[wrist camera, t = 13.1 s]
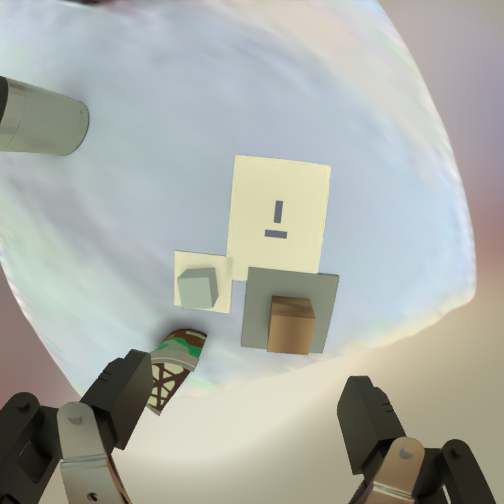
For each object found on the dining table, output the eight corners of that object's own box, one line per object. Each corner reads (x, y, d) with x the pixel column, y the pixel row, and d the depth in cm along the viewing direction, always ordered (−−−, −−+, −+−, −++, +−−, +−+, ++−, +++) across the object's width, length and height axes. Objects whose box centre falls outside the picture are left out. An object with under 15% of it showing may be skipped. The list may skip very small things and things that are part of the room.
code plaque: (225, 277, 37) (224, 278, 36) (235, 155, 33) (235, 154, 33) (314, 287, 36) (314, 288, 36) (330, 166, 32) (331, 165, 32)
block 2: (267, 328, 37) (267, 351, 31) (272, 295, 36) (272, 315, 30) (303, 331, 37) (308, 354, 31) (309, 298, 36) (315, 318, 30)
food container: (176, 305, 38) (149, 339, 28) (212, 328, 38) (195, 368, 29) (145, 358, 41) (120, 394, 31) (177, 377, 41) (158, 418, 31)
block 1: (190, 297, 37) (181, 308, 33) (186, 269, 36) (176, 278, 32) (218, 296, 37) (212, 308, 33) (215, 267, 36) (208, 277, 32)
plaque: (175, 304, 38) (174, 305, 38) (175, 250, 36) (175, 250, 36) (229, 312, 38) (229, 313, 37) (234, 256, 36) (233, 257, 36)
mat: (241, 344, 39) (240, 346, 38) (248, 266, 36) (248, 267, 35) (321, 351, 38) (322, 353, 38) (338, 275, 35) (339, 276, 35)
